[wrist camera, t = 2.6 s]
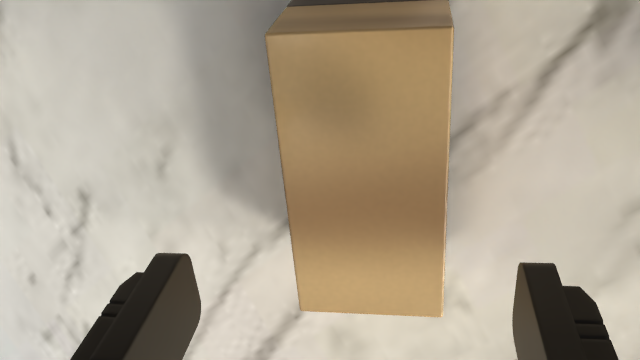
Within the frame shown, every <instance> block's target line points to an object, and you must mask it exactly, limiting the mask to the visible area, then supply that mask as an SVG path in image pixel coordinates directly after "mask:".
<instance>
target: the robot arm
mask: <svg viewBox="0 0 640 360" xmlns="http://www.w3.org/2000/svg"><path fill="white" fill-rule="evenodd" d="M101 314H102V315H101V316H99V317H98V319H97V320H96V322H95V323H94V325H93V326H92V328H91V329H90V331H89V332H88V334H87V335H86V337H85V338H84V340H83V341H82V343H81V344H80V346H79V347H78V349H77V350H76V352H75V353H74V355H73V356H72V358H71V359H70V360H182V359H183V357H184V355H185V352H186V350H187V348H188V346H189V344H190V341H191V339H192V337H193V335H194V332H195V330H196V328H197V326H198V323H199V320H200V315H201V300H200V296H199V291H198V287H197V283H196V279H195V275H194V271H193V266H192V262H191V259H190V257H189V255H188V254H179V253H158V254H156V255H155V256H154V258H153V259H152V261H151V262H150V264H149V265H148V267H147V269H146V270H145V272H144V273H141V272H136V273H135V274H134V275H133V276H131V277H130V278H129V279H128V280H126V281H125V282H124V283H123V284H121V285H120V286H119V288H118V289H117V291H116V292H115V294H114V295H113V297H112V298H111V300H110V303H109V304H107V306H106V307H105V309H104V310H103V312H102V313H101ZM512 321H513V336H514V342H515V347H516V352H517V357H518V360H618V357H617V355H616V352H615V350H614V347H613V345H612V342H611V340H609V335H608V332H607V330H606V327H605V325H603V319H602V317H601V314H600V312H599V309H598V307H597V304H596V303H595V302H594V301H593V300H592V299H591V298H590V297H589V296H588V295H587V294H586V293H585V292H584V291H583V290H582V289H581V288H580V287H576V286H562V283H561V280H560V277H559V275H558V272H557V269H556V266H555V264H553V263H519V266H518V272H517V280H516V289H515V298H514V306H513V320H512Z"/></svg>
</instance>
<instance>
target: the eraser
mask: <svg viewBox="0 0 640 360" xmlns="http://www.w3.org/2000/svg"><path fill="white" fill-rule="evenodd" d="M453 40H454V26H453V21H452V16H451V11H450V5H449V0H292V1H291V2H290V3H289V4H288V6H287V8H285V10H284V11H283V12H282V13H281V15H280V16H279V17H278V18H277V20H276V21H275V22H274V23H273V25H272V26H271V27H270V28H269V30H268V31H267V32H266V33H265V41H266V49H267V57H268V65H269V73H270V80H271V88H272V96H273V104H274V111H275V119H276V127H277V135H278V143H279V150H280V158H281V166H282V174H283V181H284V189H285V197H286V205H287V213H288V220H289V228H290V236H291V244H292V252H293V259H294V267H295V275H296V283H297V290H298V298H299V306H300V310H301V311H314V312H336V313H358V314H380V315H402V316H424V317H442V316H443V302H444V276H445V250H446V224H447V197H448V171H449V145H450V119H451V93H452V67H453Z"/></svg>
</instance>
